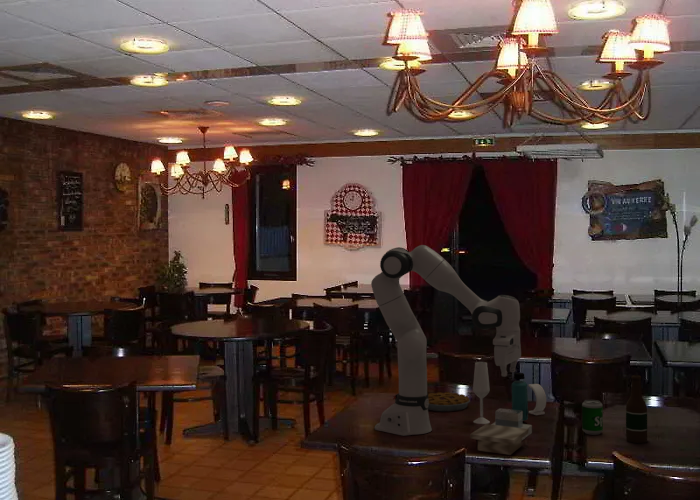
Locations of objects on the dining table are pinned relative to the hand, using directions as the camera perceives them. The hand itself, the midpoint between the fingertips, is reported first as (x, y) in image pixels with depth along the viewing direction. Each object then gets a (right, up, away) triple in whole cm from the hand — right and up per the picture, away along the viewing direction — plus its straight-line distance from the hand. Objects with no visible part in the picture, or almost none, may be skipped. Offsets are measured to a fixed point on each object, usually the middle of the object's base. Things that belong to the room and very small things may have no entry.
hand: (508, 374), depth 299 cm
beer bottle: (+45, -23, -10) cm, 52 cm away
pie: (-19, -22, +48) cm, 56 cm away
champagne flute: (-7, -23, +20) cm, 31 cm away
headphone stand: (+19, -22, +32) cm, 43 cm away
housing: (0, -20, +1) cm, 20 cm away
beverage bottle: (+8, -23, +18) cm, 30 cm away
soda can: (+32, -23, +1) cm, 40 cm away
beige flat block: (0, -23, +1) cm, 23 cm away
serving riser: (-7, -24, -17) cm, 30 cm away
